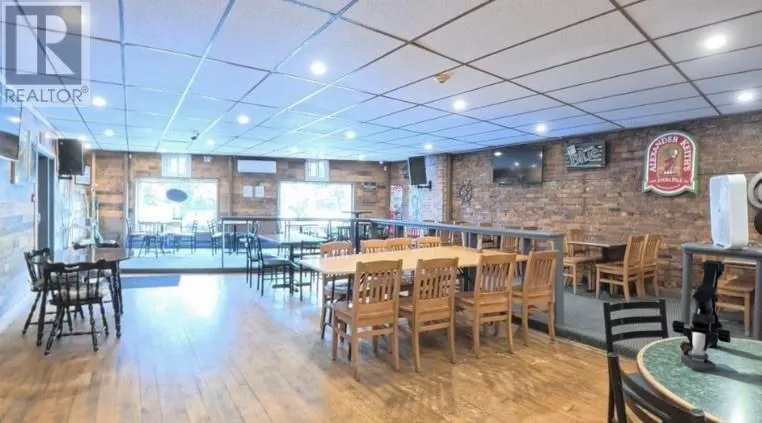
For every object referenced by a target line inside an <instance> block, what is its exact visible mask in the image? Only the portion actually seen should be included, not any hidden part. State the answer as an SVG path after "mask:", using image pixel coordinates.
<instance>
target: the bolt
mask: <svg viewBox="0 0 762 423" xmlns="http://www.w3.org/2000/svg"><path fill="white" fill-rule="evenodd" d="M679 347H680V349H681V351H682V355H688V351H692V349H691V347H690V343H689V341H685V340H684V341H681V343H680V345H679ZM688 356H689V355H688Z"/></svg>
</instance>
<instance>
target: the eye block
mask: <svg viewBox="0 0 762 423" xmlns="http://www.w3.org/2000/svg"><path fill="white" fill-rule="evenodd" d="M680 363H681V364H683V365H684V366H686V367H687V368H688V369H690V370H691V371H693V372H695V371H696V372H697V371H698V372H714V373H715V372H716V370H715V364H716V363H715V362H713V361H710V360H709V358H708V359H704V362H694V361H693V360H692V357H691V356H688V355H684V354H681V355H680Z"/></svg>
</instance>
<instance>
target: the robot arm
mask: <svg viewBox="0 0 762 423" xmlns="http://www.w3.org/2000/svg"><path fill="white" fill-rule="evenodd" d="M700 269H701V270H702V272H703V277H702V282H701V284H700V285H699V286H697V288H696V291H694V293H693V295H692V299H693V304H694V307H695V310H694V312H693V313H692V317H691V318H692V319H691V320H692V321H691V324H686V323H685V321H683V320H681V321H680V320H673V321H672V322H671V323H672V324H671V326H672V331H673V332H674V333H676V334H683V336H685V337H686V338H687V340H688V342H689V343H690V347H691V349H692V342H693V333H694V332H698V333H702V334H705V347H704V351H705V352H707V350H708V349H709V348H716V349H719V348H721V346H720V345H718V342H724V343H727V344H729V343H731V341H732V340H731V338H732V335H731V333H732V332H731V331H730V330H729V329H725V328H724V327H723V326H724V325H723V324H722V322H721V321H720V317H719V315H718V312H717V303H718V302H719V301H720V297H719V295H718V286H719V280H720V279H722V277H723V276H724V273H725V272H726V263H723V261H721V260H711V259H710V260H709V259H705V261H701V267H700Z"/></svg>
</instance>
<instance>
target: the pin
mask: <svg viewBox="0 0 762 423" xmlns="http://www.w3.org/2000/svg"><path fill="white" fill-rule="evenodd" d="M692 336H693V342H692V351H688V355H689V356H691V357H692V360H693V361H694V362H704V359H708V360H709V355H708V354H707V353H706V351H704V347H705V334H702V333H698V332H692Z"/></svg>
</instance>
